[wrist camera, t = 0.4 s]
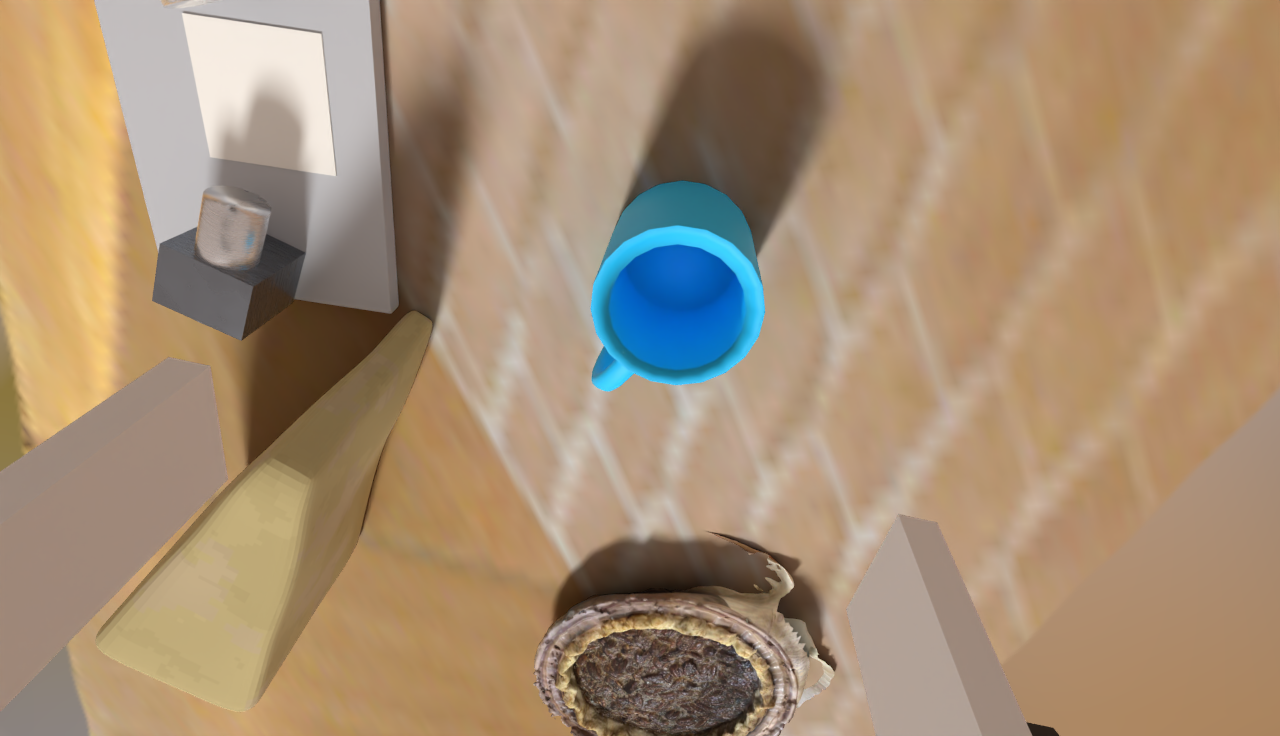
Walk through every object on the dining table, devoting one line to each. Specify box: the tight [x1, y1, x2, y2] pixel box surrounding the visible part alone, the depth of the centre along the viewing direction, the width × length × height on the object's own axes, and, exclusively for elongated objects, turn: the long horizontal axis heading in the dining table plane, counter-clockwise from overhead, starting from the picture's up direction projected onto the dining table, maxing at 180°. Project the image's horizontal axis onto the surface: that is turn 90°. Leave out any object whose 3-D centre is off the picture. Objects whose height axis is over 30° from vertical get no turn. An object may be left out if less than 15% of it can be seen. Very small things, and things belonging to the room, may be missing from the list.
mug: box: [591, 180, 765, 391], centre depth 35 cm, size 12×8×8 cm
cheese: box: [95, 311, 432, 712], centre depth 39 cm, size 22×10×15 cm, turn 144°
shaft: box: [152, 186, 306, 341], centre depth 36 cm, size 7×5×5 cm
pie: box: [533, 532, 834, 736], centre depth 53 cm, size 28×27×5 cm
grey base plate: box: [94, 0, 399, 314], centre depth 34 cm, size 24×14×1 cm, turn 173°
